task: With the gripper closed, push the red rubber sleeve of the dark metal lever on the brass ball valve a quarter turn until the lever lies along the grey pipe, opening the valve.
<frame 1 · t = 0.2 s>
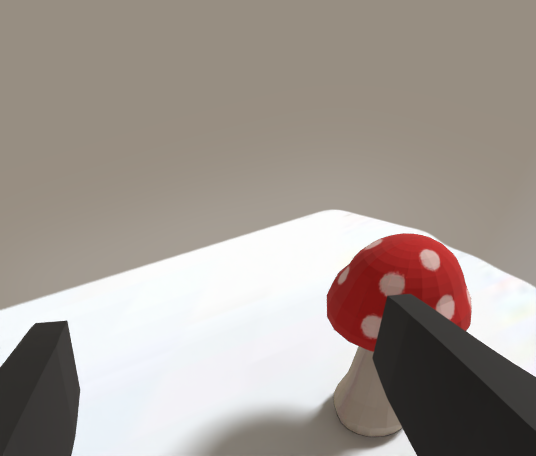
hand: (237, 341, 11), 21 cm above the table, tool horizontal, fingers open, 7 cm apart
decorative mushroom: (373, 411, 36), on the table
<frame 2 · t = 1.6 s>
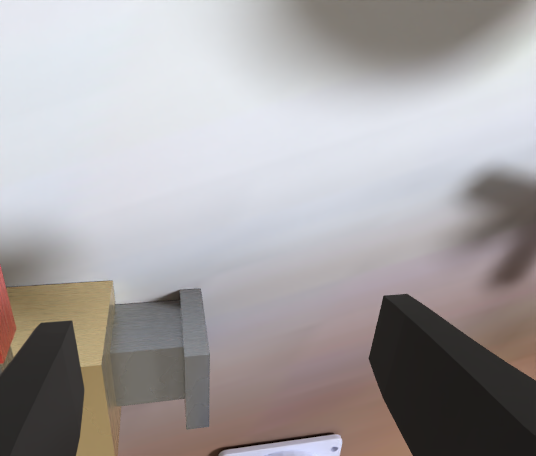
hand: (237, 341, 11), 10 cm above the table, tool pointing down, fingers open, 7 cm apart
valve body: (52, 336, 22), on the table
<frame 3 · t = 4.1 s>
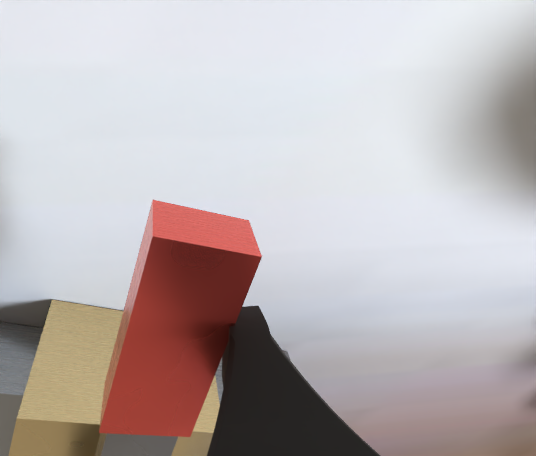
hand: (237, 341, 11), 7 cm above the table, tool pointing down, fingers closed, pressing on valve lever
valve lever: (135, 441, 11), point 7 cm above the table, hinge at 2.1°, touching gripper
valve body: (116, 368, 19), on the table
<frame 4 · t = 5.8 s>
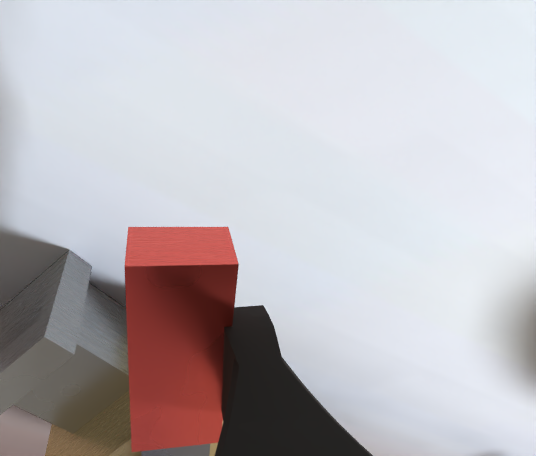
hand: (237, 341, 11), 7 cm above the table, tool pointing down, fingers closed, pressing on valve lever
valve lever: (174, 452, 12), point 7 cm above the table, hinge at 45.2°, touching gripper
valve body: (166, 377, 20), on the table
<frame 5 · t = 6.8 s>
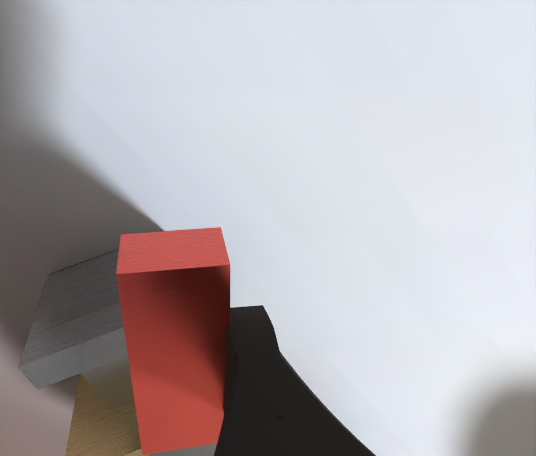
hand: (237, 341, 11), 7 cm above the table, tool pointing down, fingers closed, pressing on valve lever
valve lever: (187, 452, 12), point 7 cm above the table, hinge at 70.8°, touching gripper
valve body: (181, 377, 20), on the table
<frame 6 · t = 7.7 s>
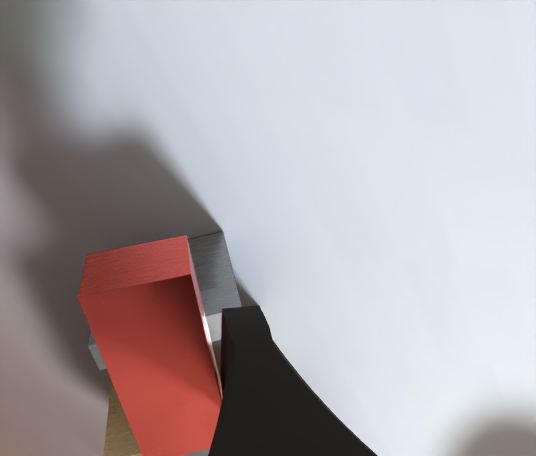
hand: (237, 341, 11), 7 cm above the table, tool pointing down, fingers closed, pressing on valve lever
valve lever: (195, 455, 12), point 7 cm above the table, hinge at 88.0°, touching gripper
valve body: (204, 375, 21), on the table
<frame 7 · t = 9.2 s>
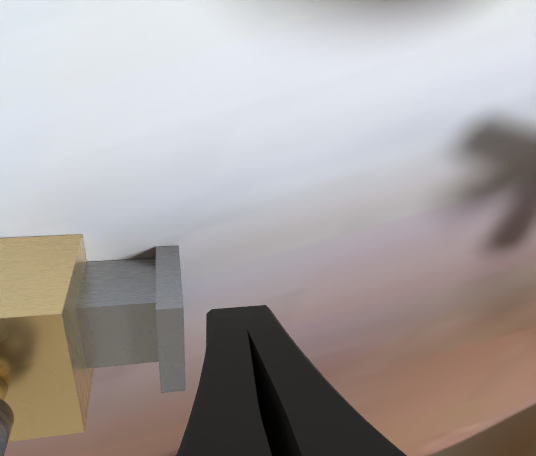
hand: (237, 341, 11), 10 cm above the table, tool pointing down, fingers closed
valve body: (19, 295, 21), on the table
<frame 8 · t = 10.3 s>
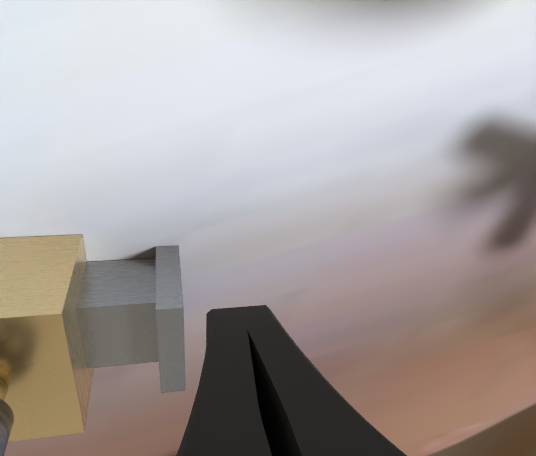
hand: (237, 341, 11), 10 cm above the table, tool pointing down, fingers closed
valve body: (19, 295, 21), on the table
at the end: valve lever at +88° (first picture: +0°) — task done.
